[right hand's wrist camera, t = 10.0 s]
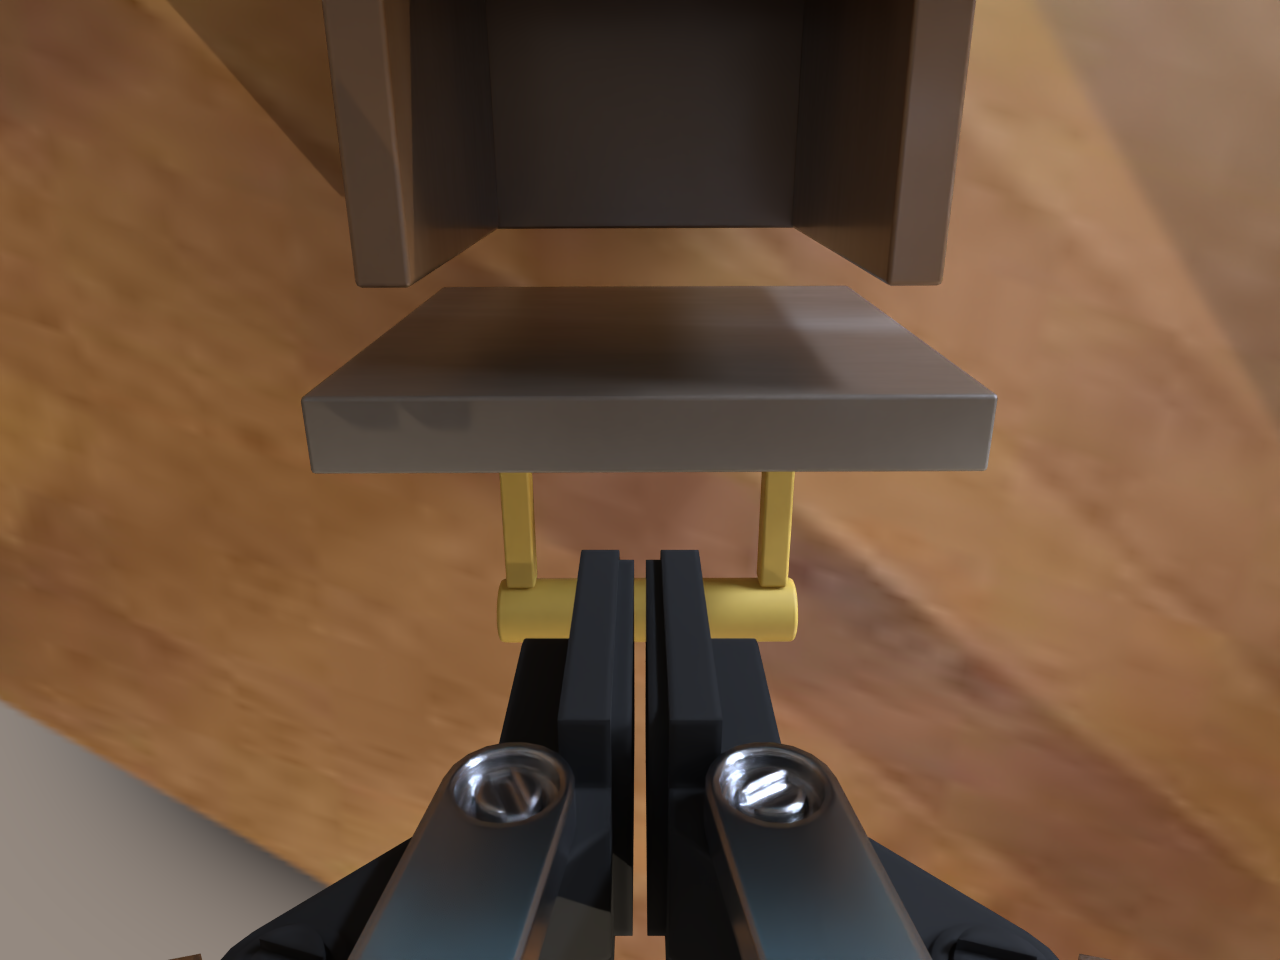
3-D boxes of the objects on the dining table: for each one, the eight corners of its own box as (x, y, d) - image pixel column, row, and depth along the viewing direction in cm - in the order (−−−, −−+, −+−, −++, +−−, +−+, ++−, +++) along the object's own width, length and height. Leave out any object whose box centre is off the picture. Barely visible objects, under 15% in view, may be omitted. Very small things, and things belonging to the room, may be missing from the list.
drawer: (828, 537, 24) (942, 781, 15) (463, 538, 24) (356, 783, 15) (901, -371, 17) (1201, -949, 8) (386, -369, 17) (96, -943, 8)
